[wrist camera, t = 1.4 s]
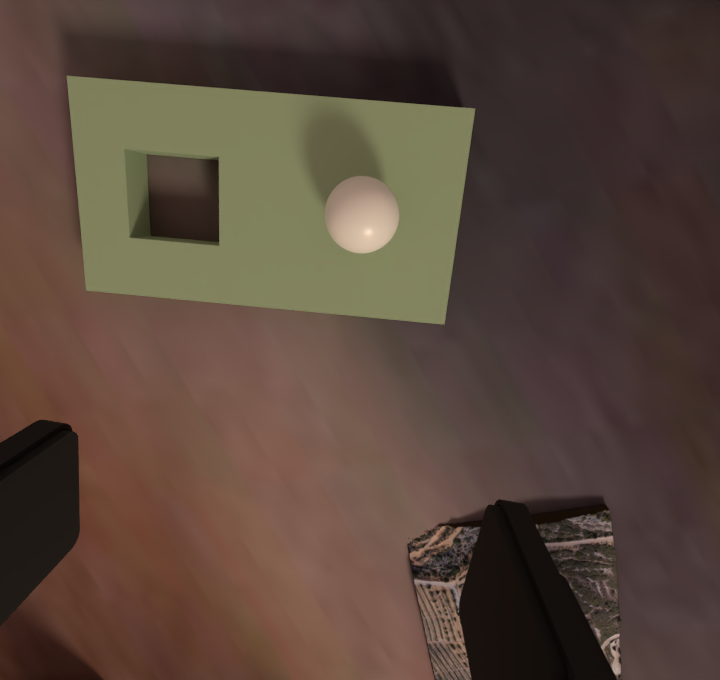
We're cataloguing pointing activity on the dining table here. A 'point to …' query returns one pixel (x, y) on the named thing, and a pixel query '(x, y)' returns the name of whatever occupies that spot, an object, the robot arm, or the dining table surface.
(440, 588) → the terrain model
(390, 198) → the ball
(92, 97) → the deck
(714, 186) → the dining table surface
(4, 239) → the dining table surface
